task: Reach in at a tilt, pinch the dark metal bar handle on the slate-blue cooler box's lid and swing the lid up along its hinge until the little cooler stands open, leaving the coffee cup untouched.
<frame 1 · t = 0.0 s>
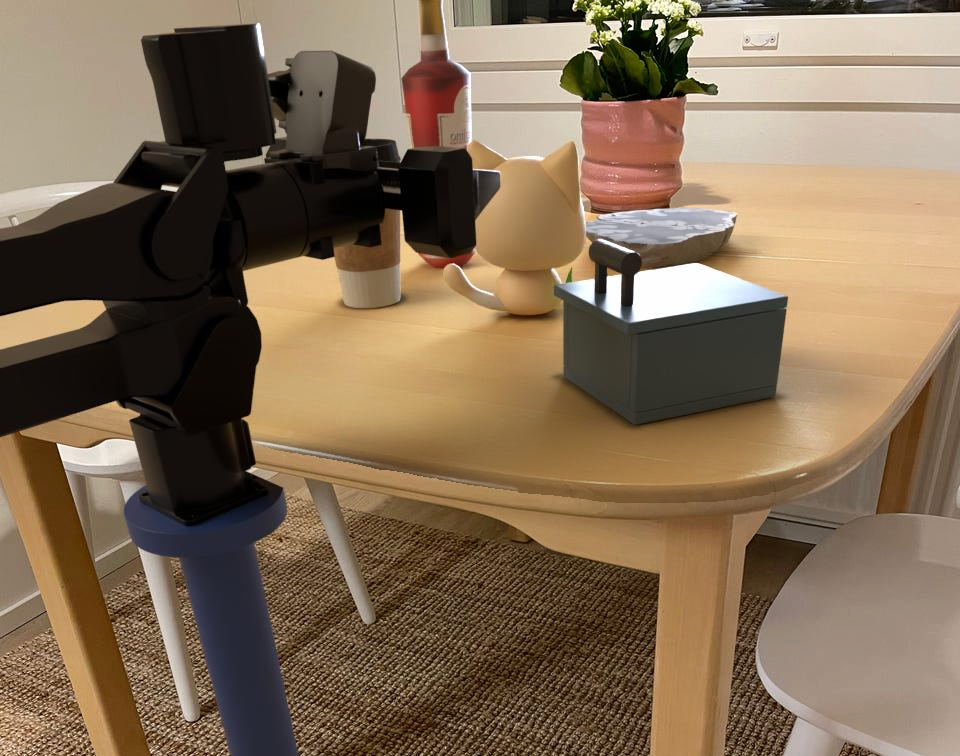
hand: (453, 175, 70), 15 cm above the table, tool horizontal, fingers open, 9 cm apart
coffee cup: (372, 302, 99), on the table
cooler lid: (667, 270, 68), point 9 cm above the table, hinge at 0.0°
liquor: (448, 264, 111), on the table
cooler: (665, 386, 73), on the table
grey flat stone slab: (654, 253, 111), on the table
beige cat figurine: (534, 314, 92), on the table
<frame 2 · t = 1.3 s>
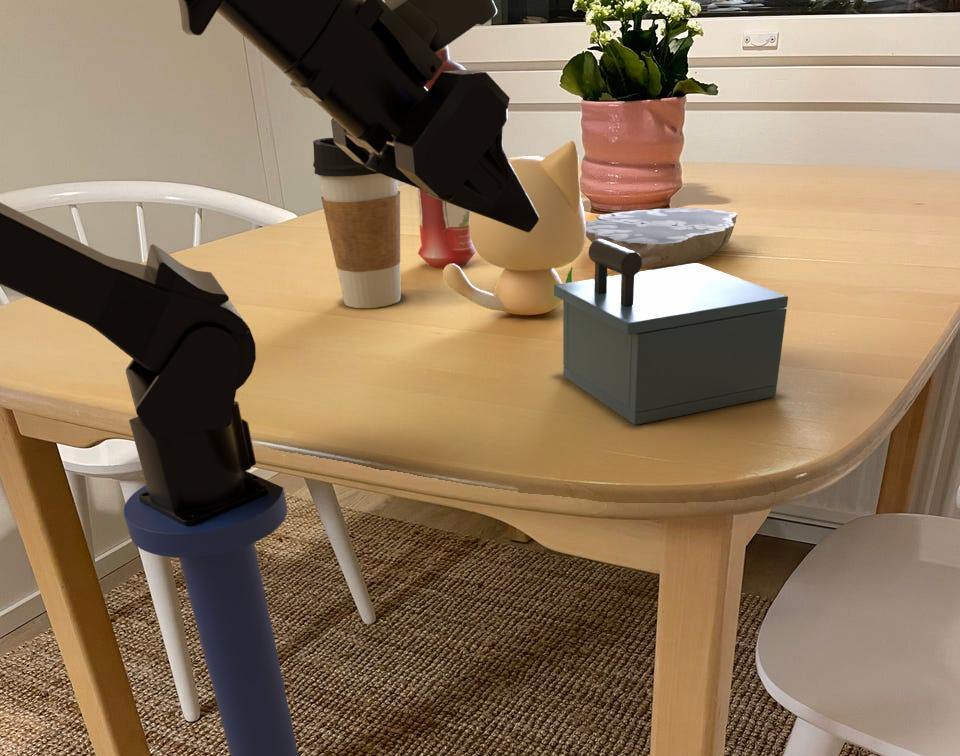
hand: (504, 213, 62), 14 cm above the table, tool tilted 45°, fingers open, 9 cm apart
nothing on the table moved.
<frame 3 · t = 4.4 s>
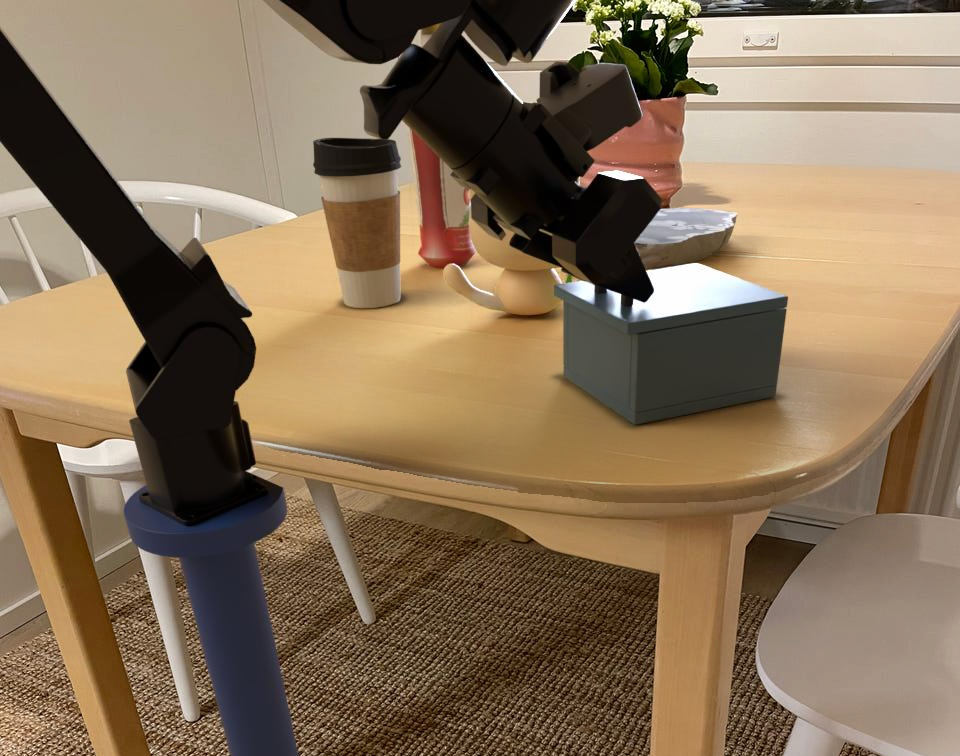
hand: (631, 288, 68), 8 cm above the table, tool tilted 45°, fingers closed on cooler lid, 5 cm apart
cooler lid: (667, 270, 68), point 9 cm above the table, hinge at 0.0°, touching gripper
everything else where it was.
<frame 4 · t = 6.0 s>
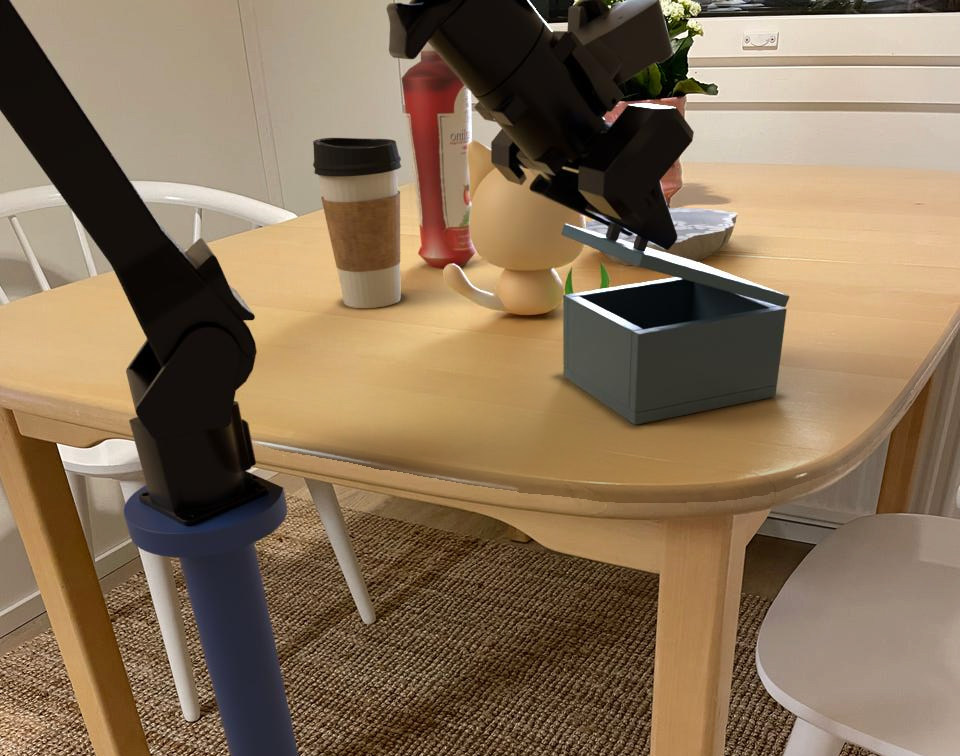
hand: (652, 237, 67), 11 cm above the table, tool tilted 45°, fingers closed on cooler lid, 5 cm apart
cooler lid: (681, 238, 68), point 11 cm above the table, hinge at 19.9°, touching gripper
everything else where it was.
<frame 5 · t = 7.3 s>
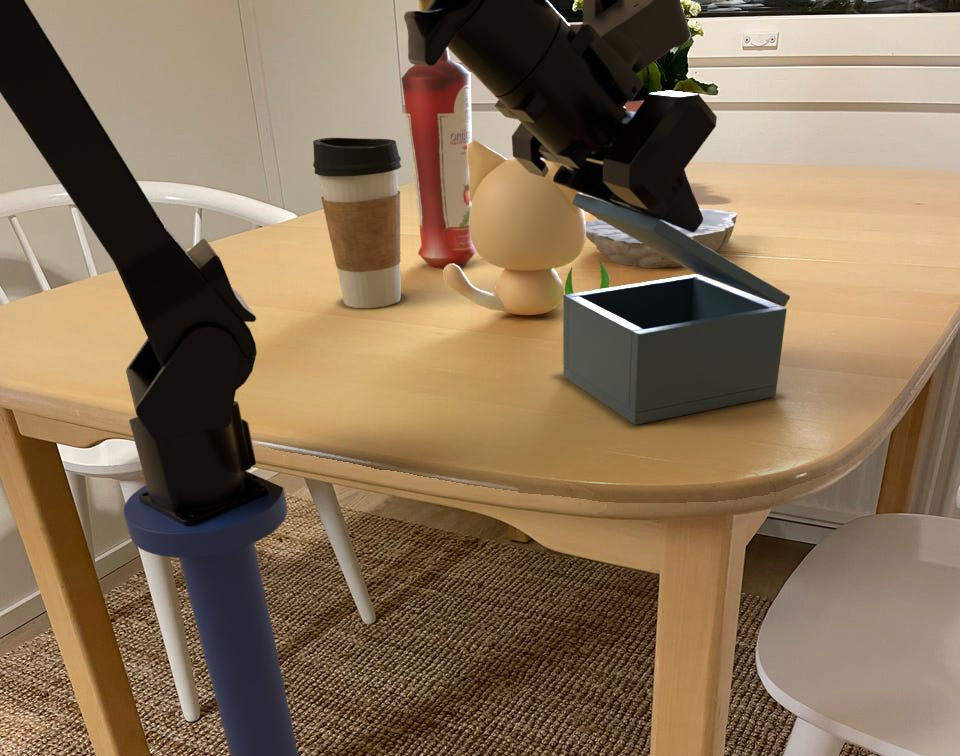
hand: (678, 220, 67), 12 cm above the table, tool tilted 45°, fingers closed on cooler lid, 5 cm apart
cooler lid: (691, 223, 67), point 12 cm above the table, hinge at 29.9°, touching gripper
everything else where it was.
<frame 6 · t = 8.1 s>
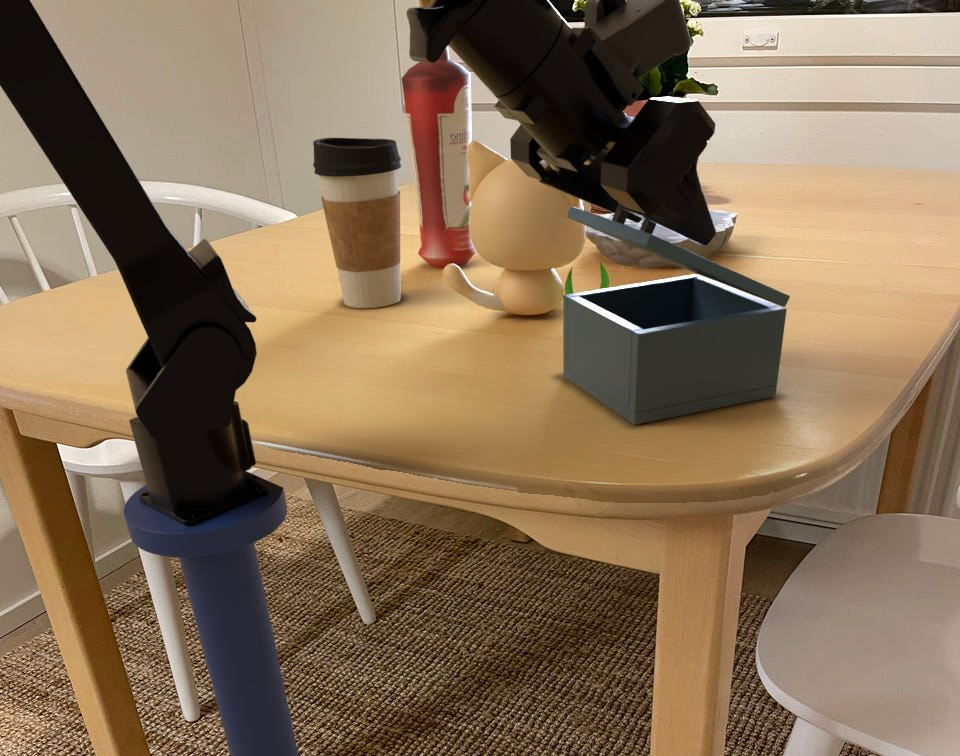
hand: (674, 227, 67), 11 cm above the table, tool tilted 45°, fingers open, 9 cm apart
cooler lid: (686, 230, 67), point 11 cm above the table, hinge at 25.6°
everything else where it was.
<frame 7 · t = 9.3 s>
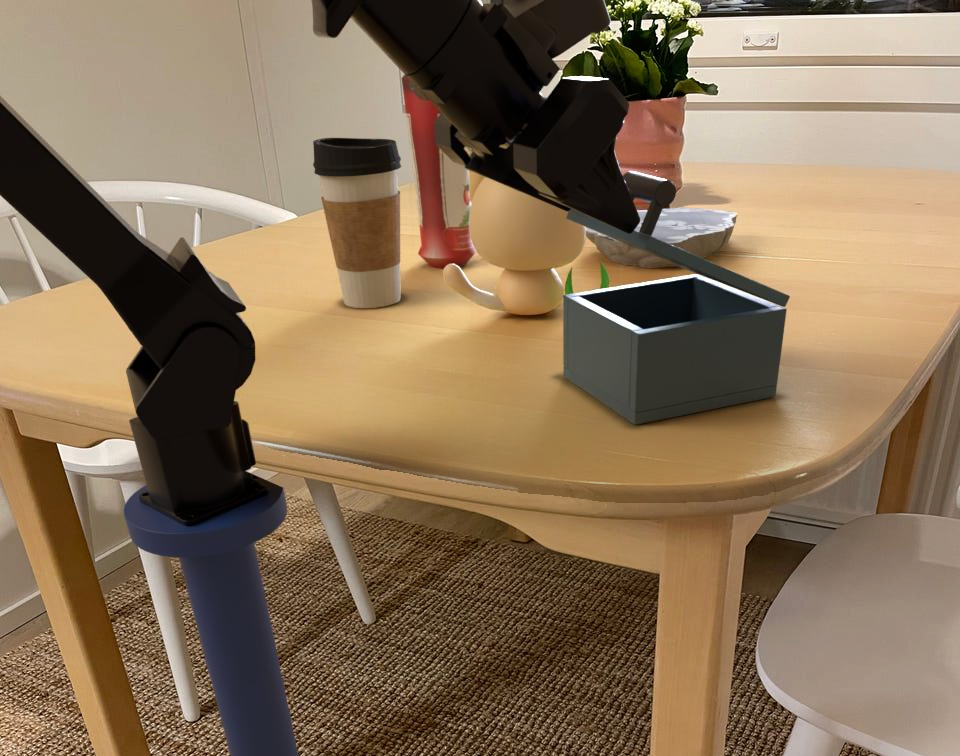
hand: (601, 215, 65), 13 cm above the table, tool tilted 45°, fingers open, 9 cm apart
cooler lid: (686, 230, 67), point 11 cm above the table, hinge at 25.0°
everything else where it was.
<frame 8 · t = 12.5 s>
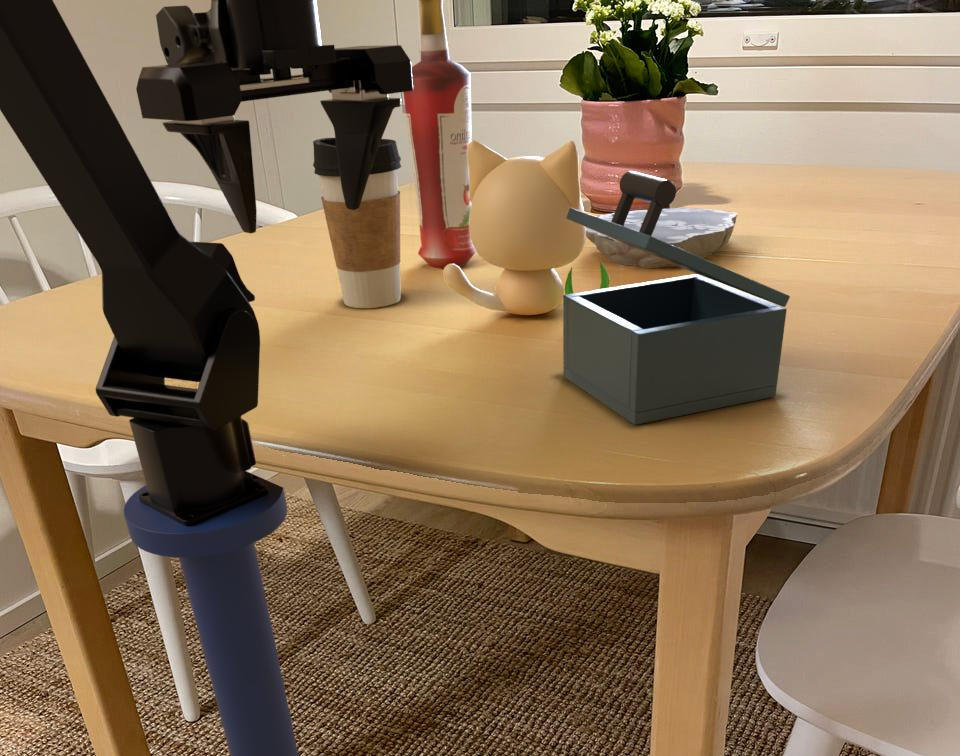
hand: (303, 220, 68), 13 cm above the table, tool pointing down, fingers open, 9 cm apart
nothing on the table moved.
at the end: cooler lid at +25° (first picture: +0°); coffee cup moved 0.2 cm from its start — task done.
